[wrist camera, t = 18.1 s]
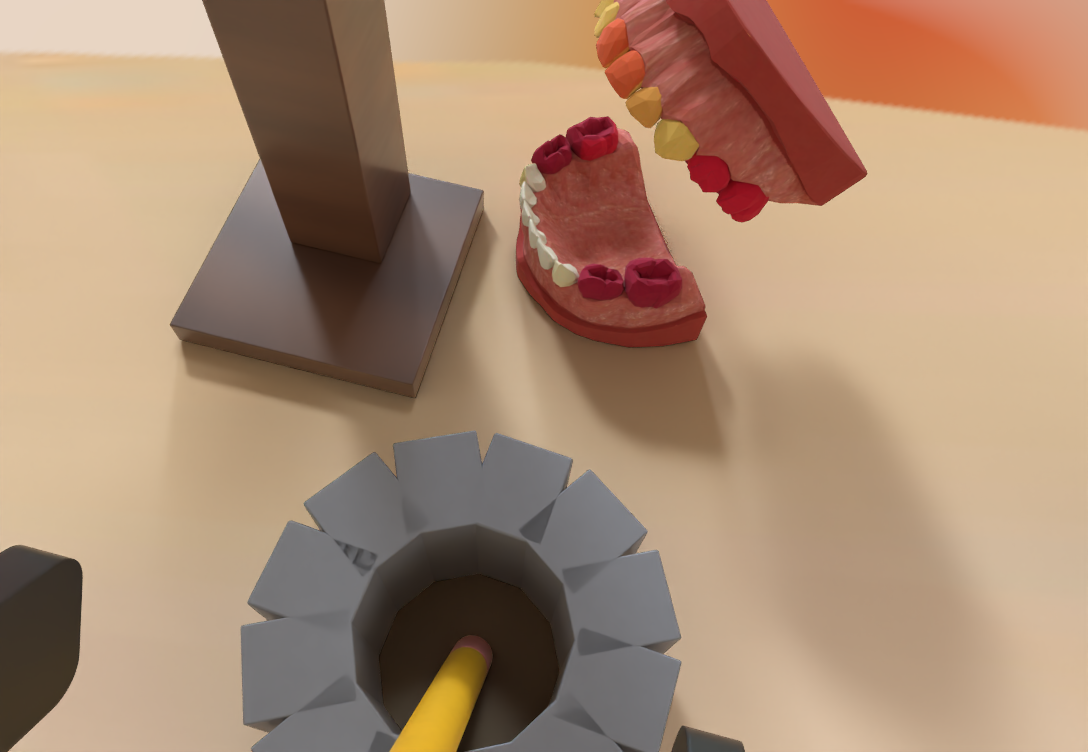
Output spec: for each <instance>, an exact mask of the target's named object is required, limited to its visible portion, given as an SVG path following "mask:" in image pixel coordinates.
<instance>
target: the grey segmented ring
mask: <svg viewBox="0 0 1088 752" xmlns="http://www.w3.org/2000/svg"><path fill="white" fill-rule="evenodd" d="M393 449H394V457H395V466H396V474H397V478H396V476H395V475H394V474H393V473H392V472H391V470H390V469H389V468H388V467H387V465H386V464H385V463H384V462H383V461H382V459H381V458H380V457H379V456H378V455H377V453H375V452H373V453H372V454H370V455H369V456H367V457H366V458H365V459H363V460H362V461H360V462H359V463H358V464H356V465H355V466H354V467H352V468H351V469H349V470H348V471H347V472H345V473H344V474H343V475H341V476H340V477H338V478H337V479H336V480H334V481H333V482H332V483H330V484H329V485H327V486H326V487H325V488H323V489H322V490H320V491H319V492H318V493H316V494H315V495H314V496H312V497H311V498H309V499H308V500H307V501H305V502H304V506H305V507H306V509H307V511H308V512H309V514H310V515H311V517H312V518H313V520H314V521H315V523H316V525H317V526H318V528H319V529H320V531H319V530H317V529H314V528H311V527H308V526H306V525H303V524H300V523H297V522H294V521H289V522H288V523H287V525H286V527H285V529H284V531H283V533H282V535H281V537H280V539H279V541H278V543H277V545H276V547H275V548H274V550H273V552H272V554H271V556H270V558H269V560H268V562H267V564H266V566H265V568H264V570H263V572H262V574H261V576H260V578H259V580H258V582H257V584H256V586H255V588H254V590H253V592H252V594H251V596H250V598H249V600H248V605H249V606H251V607H252V608H253V609H254V610H256V611H257V612H258V613H259V614H261V615H262V616H263V617H264V618H266V619H267V620H268V621H264V622H258V623H253V624H247V625H243V626H241V655H242V691H243V724H244V725H246V726H249V727H252V728H255V729H259V730H262V731H265V732H269V733H268V734H267V735H266V736H265V737H263V738H262V739H261V740H260V741H259V742H257V743H256V744H255V745H254V746H252V748H251V749H252V752H389V751H390V750H391V748H392V746H393V745H394V743H395V742H396V740H397V738H398V737H399V735H400V733H401V732H402V730H401V729H400V728H399V726H398V725H397V724H396V722H395V721H394V719H393V718H392V717H391V715H390V714H389V713H388V711H387V710H386V709H385V707H384V704H383V694H382V684H381V674H380V664H379V654H380V652H381V649H382V647H383V645H384V642H385V640H386V638H387V635H388V633H389V630H390V628H391V626H392V623H393V621H394V619H395V616H396V614H397V611H399V610H400V609H401V608H402V607H404V606H405V605H406V604H407V603H409V602H410V601H411V600H412V599H413V598H415V597H416V596H417V595H418V594H420V593H421V592H422V591H423V590H424V589H426V588H427V587H428V586H429V585H431V584H432V583H433V582H435V581H440V580H446V579H452V578H457V577H463V576H468V575H474V574H482V575H485V576H488V577H490V578H493V579H496V580H499V581H502V582H504V583H507V584H510V585H513V586H516V587H518V588H521V589H522V591H523V592H524V593H525V594H526V595H527V597H528V598H529V599H530V600H531V601H532V602H533V604H534V605H535V606H536V607H537V608H538V610H539V611H540V612H541V613H542V614H543V615H544V617H545V618H546V619H547V620H548V621H549V623H550V624H551V629H552V634H553V639H554V645H555V650H556V655H557V660H558V665H559V670H560V671H559V674H558V677H557V681H556V684H555V687H554V690H553V693H552V696H551V700H550V703H549V706H548V707H547V708H546V709H545V710H544V711H543V712H542V713H541V714H540V715H539V716H538V717H537V718H535V719H534V720H533V721H532V722H531V723H530V724H529V725H528V726H527V727H526V728H525V729H524V730H523V731H522V732H521V733H519V734H518V735H517V736H516V737H515V738H514V739H513V740H512V741H511V742H508V743H503V744H498V745H493V746H488V747H484V748H479V749H474V750H469V751H465V752H659V750H660V746H661V742H662V738H663V734H664V730H665V726H666V722H667V718H668V714H669V710H670V706H671V702H672V698H673V694H674V690H675V686H676V682H677V678H678V674H679V670H680V666H681V661H680V660H678V659H675V658H672V657H669V656H666V655H664V653H665V652H666V651H667V650H668V649H669V648H671V647H672V646H673V645H674V644H675V643H676V642H677V641H678V640H680V639H681V635H680V631H679V627H678V623H677V620H676V616H675V612H674V608H673V604H672V600H671V597H670V593H669V589H668V585H667V581H666V577H665V574H664V570H663V566H662V562H661V558H660V555H659V551H658V550H653V551H648V552H642V553H637V554H636V552H637V550H638V548H639V546H640V545H641V543H642V541H643V539H644V538H645V536H646V534H647V532H648V531H647V530H646V529H645V528H644V526H643V525H642V524H641V523H640V522H639V521H638V520H637V519H636V518H635V517H634V516H633V515H632V514H631V513H630V512H629V510H628V509H627V508H626V507H625V506H624V505H623V504H622V503H621V502H620V501H619V500H618V499H617V498H616V497H615V495H614V494H613V493H612V492H611V491H610V490H609V489H608V488H607V487H606V486H605V485H604V484H603V483H602V482H601V480H600V479H599V478H598V477H597V476H596V475H595V474H594V473H593V472H592V471H591V470H588V471H587V472H586V473H584V474H583V475H582V476H581V477H579V478H578V479H577V480H576V481H575V482H573V483H572V484H571V485H570V486H569V487H567V484H568V480H569V476H570V471H571V467H572V463H573V459H571V458H569V457H566V456H563V455H560V454H557V453H554V452H551V451H548V450H545V449H542V448H539V447H536V446H533V445H531V444H528V443H525V442H522V441H519V440H516V439H513V438H510V437H507V436H504V435H501V434H498V433H495V434H494V436H493V439H492V441H491V444H490V446H489V449H488V451H487V454H486V456H485V458H484V461H483V463H482V462H481V456H480V450H479V444H478V438H477V432H476V431H469V432H463V433H457V434H450V435H444V436H438V437H431V438H425V439H418V440H412V441H406V442H399V443H394V444H393Z"/></svg>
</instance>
